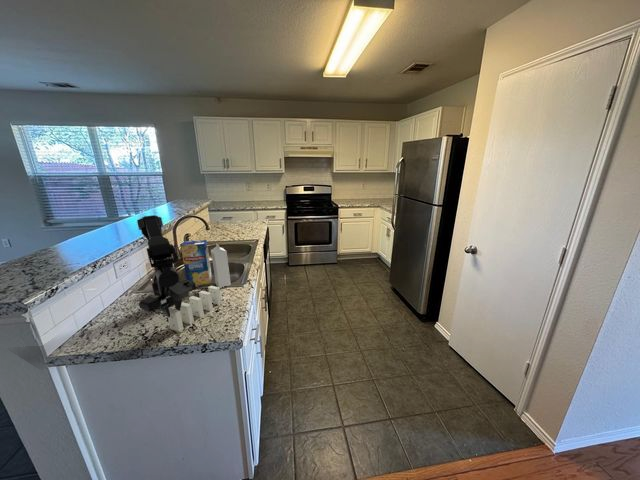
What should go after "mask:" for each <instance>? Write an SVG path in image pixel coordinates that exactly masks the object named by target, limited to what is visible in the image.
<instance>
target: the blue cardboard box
mask: <svg viewBox="0 0 640 480" xmlns="http://www.w3.org/2000/svg"><path fill="white" fill-rule="evenodd" d="M208 247H209V246H208V241H207V239H201V240H200V239H199V240H187V241H186V240H185V241H183V242H182V244H180V250H181V251H180V252H181V255H182V261H183V266H184V272H185V277H186V278H185V279H186V280H190V281H194V282H195V284H196V286H200V285H207V284H208V285H209V284H211V282H212V280H213V275H212V274H213V273H212V267H211V261H210V254H209V248H208Z"/></svg>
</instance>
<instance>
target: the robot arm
mask: <svg viewBox="0 0 640 480" xmlns="http://www.w3.org/2000/svg"><path fill="white" fill-rule="evenodd" d="M136 223H137V227H138V231H141V232H140V233H141V234H142V235H143V236H144V237H145V238H146V239H147V246H148V247H147V248H146V253H147V256H148V261H149V264H150V268H152V269H154V274H153V276H152V282H151V287H152V292H153V295H154V296H151V295H150V296H147V297H145V298H142V299H141V300H139V302H138V303H139V304H138V306H139V309H140V310H144V311H147V312H149V313H150V312H154V311H155V310H157V309H160V311H162V313H163V314H164V315H165V316H166V317H167V318H168V317H170V312H169V309H170V308H171V306H173V305H174V307H175V308H174V309H175V310H178V311H180V308H181V304H182V302H183V300H184V299H186V298H189V295H190V292H192V291H193V290H194V289H196V288H197V285H196V284H195V282H194V281H190V280H187V278H185V279H182V280H180V279H179V278H180V277H179V274H178V271H176V269H175V267H174V264H175V263H177V262H178V260H177V259H178V255H177V251H176V247H175V246H174V244H173V243H170V241H169V238H166V236H165V237H164V235H163V233H162V232H163V230H162V228H163V227H164V223H163V219H162V217H161V216H158V215H156V214H153V215H144V216H142V217H141V218H138V219H137V221H136ZM179 280H180V281H179Z"/></svg>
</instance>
